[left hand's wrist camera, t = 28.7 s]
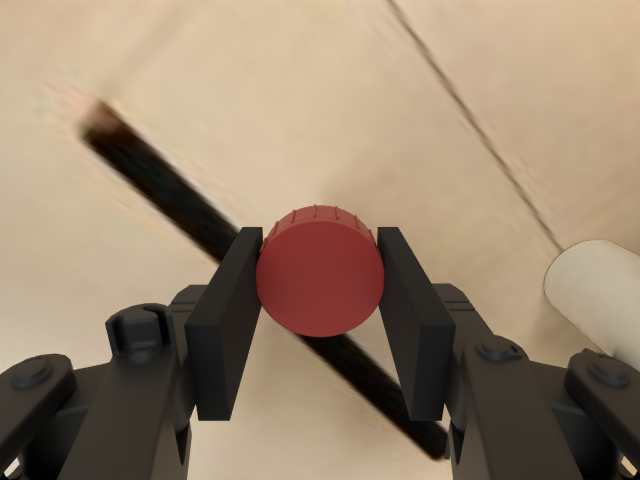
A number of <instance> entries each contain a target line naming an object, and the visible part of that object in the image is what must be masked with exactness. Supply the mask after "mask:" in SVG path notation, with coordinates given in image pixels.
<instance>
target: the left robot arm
mask: <svg viewBox="0 0 640 480" xmlns="http://www.w3.org/2000/svg"><path fill="white" fill-rule="evenodd" d="M262 244H263V230H262V227H242V229H241V230H240V232H239V234H238V235H237V237H236V239H235V240H234V242H233V244H232V246H231V247H230V249H229V251H228V252H227V254H226V256H225V257H224V259H223V261H222V262H221V264H220V266H219V267H218V269H217V271H216V272H215V274H214V276H213V277H212V279H211V281H210V282H209V284H208V285H189V286H188V287H186V288H185V289H183V290H182V291H180V292H179V293H177V295H176V296H175V298H174V299H173V300H172V302H171V304H170V305H169V306H168V307H167V306H166V305H162V304H158V303H145V304H140V305H135V306H131V307H129V308H126V309H123V310H121V311H119V312H117V313H116V314H114V315H112V316H111V317H110V318H109V319H108V320H107V321H106V322H105V325H106V329H107V334H108V338H109V342H110V346H111V350H112V354H113V356H112V359H111V361H110V362H109V363H105V364H101V365H97V366H92V367H87V368H82V369H77V370H73V367H72V363H71V360H70V359H69V358H68V357H66V356H65V355H60V354H47V355H39V356H35V357H32V358H29V359H26V360H24V361H22V362H20V363H18V364H16V365H14V366H12V367H10V368H9V369H7V370H6V371H5V372H3V373H2V374H0V480H187V474H188V465H189V456H190V447H191V438H192V433H191V427H190V421H189V420H190V417H191V415H192V412H193V410H194V407H195V405H196V407H197V414H198V420H199V421H230V418H231V414H232V410H233V407H234V403H235V400H236V396H237V393H238V389H239V385H240V382H241V378H242V375H243V371H244V367H245V364H246V360H247V357H248V353H249V349H250V346H251V342H252V339H253V335H254V332H255V328H256V324H257V321H258V317H259V314H260V310H261V306H262V304H261V302H260V300H259V297H258V295H257V283H256V266H257V262H258V260H259V257H260V254H261V253H260V249H261V247H262ZM377 247H378V249H379V252H380V255H381V257H382V260H383V266H384V287H383V295H382V298H381V300H380V302H379V304H378V306H379V309H380V313H381V316H382V320H383V324H384V327H385V331H386V334H387V338H388V341H389V345H390V349H391V352H392V356H393V359H394V363H395V367H396V370H397V374H398V377H399V381H400V384H401V388H402V392H403V395H404V399H405V402H406V406H407V410H408V413H409V417H410V420H411V421H442V415H443V409H444V402H445V405H446V407H447V410H448V412H449V415H450V417H451V421H450V427H449V433H448V439H447V445H446V451H445V458H444V459H447V460H449V458H450V455H451V464H452V473H453V480H640V372H639V371H637V370H636V369H635V368H633V367H632V366H630V365H629V364H627V363H624V362H622V361H620V360H618V359H616V358H614V357H611V356H608V355H607V356H606V355H605V354H600V353H591V352H583V353H576V354H575V355H574V356H572V357H571V358H570V361H569V364H568V368H567V369H566V368H561V367H557V366H552V365H547V364H542V363H537V362H534V361H530V360H529V358H528V356H527V354H526V353H525V352H524V350H523V349H522V348H521V347H520V346H518V345H517V344H516V343H514V342H513V341H511V340H508V339H506V338H504V337H501V336H497V335H494V334H493V333H492V331H491V330H490V329H489V327H488V326H487V324H486V323H485V322H484V320H483V319H482V318H481V316H480V315H479V314H478V312H477V311H475V308H474V307H473V305H472V304H471V303H470V301H469V300H468V298H467V297H466V296H465V294H464V293H463V292H462V291H461V290H459V289H458V288H456V287H454V286H453V285H451V284H431V282H430V280H429V279H428V277H427V275H426V274H425V272H424V270H423V269H422V267H421V265H420V264H419V262H418V260H417V259H416V257H415V255H414V253H413V252H412V250H411V248H410V247H409V245H408V243H407V242H406V240H405V238H404V237H403V235H402V233H401V232H400V230H399V228H398V227H378V234H377ZM624 456H625V457H626V458H627V459H628V460H629V461H630V463H631V464H632V465H633V466H634V467H635V468H636V469H637V473H636V475H635V476H633V475H632V474H631V473H630V472H629V471H628V470H627V469H626V468H625V467H624V465H623V464H622V463H621V462H622V459H623V457H624ZM16 458H17V459H18V461H19V463H20V464H19V466H18V467H17V468H16V469H15V470H14V471H13V472H12V473H11V474H10V475H9V476H8V477H6V476H5V474H4V472H5V470H6V469H7V468H8V467H9V466H10V465H11V463H12V462H13V461H14V460H15V459H16Z"/></svg>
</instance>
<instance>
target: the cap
mask: <svg viewBox="0 0 640 480" xmlns="http://www.w3.org/2000/svg"><path fill="white" fill-rule="evenodd" d="M260 253H261V254H260V257H259V260H258V262H257V266H256V283H257V295H258V297H259V300H260V302H261V304H262V306H263V307H264V309H265V310H266V312H267V313H268V314H269V315H270V316H271V317H272V318H273V319H274V320H275V321H276V322H277V323H279V324H280V325H282V326H283V327H285V328H286V329H288V330H291V331H293V332H295V333H298V334H302V335H306V336H313V337H327V336H334V335H338V334H342V333H345V332H347V331H350V330H352V329H354V328H355V327H357V326H359V325H360V324H362V323H363V322H364V321H365V320H366V319H368V317H369V316H370V315H371V314H372V313H373V312H374V310H375V309H376V307H377V306H378V304H379V302H380V300H381V298H382V295H383V287H384V266H383V260H382V257H381V255H380V252H379V249H378V247H377V246H376V242H375V240H374V237H373V234H372V232H371V230H368V228H367V227H366V226H365V225H364V224H363V223H362V222H361V221H360V220H359V219H358V218H357V216H356V215H355V216H354V215H352V214H350V213H349V212H347V211H344V210H342V209H339V208H338V207H331V206H316V205H314V206H310V207H305V208H301V209H298V210H296V211H295V210H293V212H291V213H290V214H288V215H286V216H285V217H284V218H282V219H281V220H280V221H279V222H278V221H277V222H276V223H275V226H274V227H273V229H272V230H271V231H270V233H269V235H268V237H267V238H266V237H265V239H264V242H263V244H262V247H261V249H260Z"/></svg>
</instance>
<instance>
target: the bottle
mask: <svg viewBox="0 0 640 480" xmlns="http://www.w3.org/2000/svg"><path fill="white" fill-rule="evenodd" d="M544 290H545V294H546V297H547V299H548V301H549V302H550V304H551V305H552V306H553V307H554V308H556V309H557V310H558V311H559V312H560V313H561V314H562V315H563V316H565V317H566V318H567V319H568V320H569V321H570V322H571V323H572V324H574V325H575V326H576V327H577V328H578V329H579V330H580V331H581V332H583V333H584V334H585V335H586V336H587V337H588V338H589V339H590V340H592V341H593V342H594V343H595V344H596V345H597V346H598V347H599V348H601V349H602V350H603V351H604V352H605V353H606V354H607V355H608V356H611V357H614V358H616V359H618V360H620V361H622V362H624V363H627V364H629V365H630V366H632V367H633V368H635V369H636V370H637V371H639V372H640V256H639V255H636V254H634V253H632V252H630V251H628V250H626V249H624V248H622V247H620V246H618V245H616V244H614V243H612V242H609V241H605V240H590V241H585V242H581V243H578V244H576V245H574V246H572V247H570V248H568V249H567V250H565V251H564V252H563V253H561V254H560V255H559V256H558V257H557V258H556V259H555V260H554V262H553V263H552V264H551V266H550V268H549V269H548V272H547V274H546V277H545V282H544Z"/></svg>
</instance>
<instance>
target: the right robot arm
mask: <svg viewBox="0 0 640 480" xmlns="http://www.w3.org/2000/svg"><path fill="white" fill-rule="evenodd" d="M583 352H591V353H595V352H593V351H591V350H589V349H587V348H585V349H584V350H583V351H582V352H581V353H583Z"/></svg>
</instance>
